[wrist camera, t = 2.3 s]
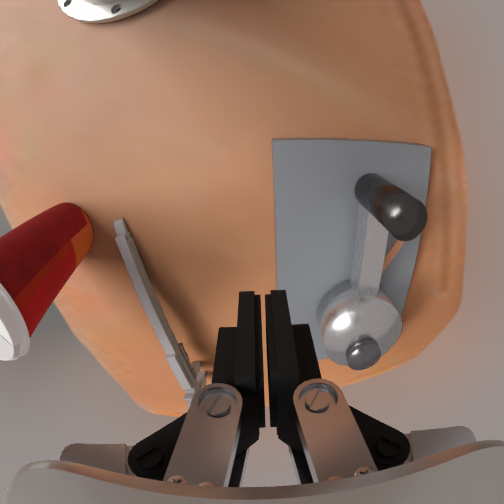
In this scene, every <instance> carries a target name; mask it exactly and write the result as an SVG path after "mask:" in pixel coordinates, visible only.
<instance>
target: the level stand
mask: <svg viewBox="0 0 504 504" xmlns="http://www.w3.org/2000/svg"><path fill="white" fill-rule="evenodd" d="M431 149H432V147H429V146H426V145H423V144H415V143H406V142H395V141H382V140H366V139H342V138H280V139H272V158H273V183H274V212H275V248H276V290H286V295H287V300H288V306H289V312H290V318H291V324H307V323H308V324H309V326H310V330H311V335H312V339H313V343H314V347H315V352H316V356H317V360H319V359H328V358H329V357H328V356H327V354H326V351H325V348H324V344H323V341H322V337H321V333H320V330H319V326H318V323H317V318H316V311H317V307H318V304H319V302H320V300H321V299H322V297H323V296H324V295H325V294H326V293H327V292H328V291H329V290H330V289H331V288H332V287H334V286H335V285H337V284H339V283H341V282H343V281H345V280H348V279H351V273H352V265H353V257H354V248H355V239H356V228H357V217H358V204H359V202H358V201H357V199H356V197H355V193H354V189H355V185H356V182H357V181H358V179H359V178H360V177H361V176H363V175H365V174H367V173H375V174H378V175H379V176H381V177H383V178H384V179H386V180H388V181H389V182H391V183H393V184H394V185H396V186H397V187H399V188H401V189H402V190H404V191H405V192H407V193H409V194H410V195H412V196H413V197H415V198H416V199H418V200H419V201H421V202H422V203H423V205H424V206H425V207H426V200H427V192H428V183H429V174H430V163H431ZM420 237H421V233H420V234H419V235H418V236H417V237H416V238H414V239H412V240H410V241H399V240H397V239H396V238H394V237H393V236H392V234H391V233H390V232H388V239H387V246H386V252H385V258H384V264H383V269H382V275H381V280H380V285H381V286H382V287H383V289H384V290H385V292H386V293H387V295H388V297H389V298H390V300H391V301H392V303H393V305H394V306H395V308H396V310H397V311H398V313H399V315H400V317H401V315H402V312H403V308H404V305H405V301H406V298H407V294H408V290H409V286H410V282H411V278H412V274H413V270H414V266H415V261H416V257H417V252H418V247H419V242H420ZM390 349H391V348H390Z"/></svg>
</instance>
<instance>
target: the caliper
mask: <svg viewBox="0 0 504 504" xmlns="http://www.w3.org/2000/svg"><path fill="white" fill-rule="evenodd" d="M113 223H114V225H113V226H114V229H115V231H116V234H117V237H116V238H115V240H116V243H117V245H118V248H119V251H120V253H121V256H122V258H123V261H124V263H125V266H126V268H127V271H128V273H129V276H130V278H131V281H132V283H133V285H134V288H135V290H136V292H137V294H138V297H139V299H140V301H141V303H142V306H143V308H144V310H145V312H146V314H147V316H148V318H149V321H150V323H151V325H152V327H153V329H154V331H155V333H156V335H157V337H158V339H159V341H160V343H161V345H162V347H163V349H164V351H165V353H166V355H167V356H166V359H167V361H168V363H169V365H170V367H171V369H172V371H173V372H174V374H175V376H176V378H177V380H178V381H179V383H180V385H181V387H182V389H183V390H186V394H185V397H184V399H183V400H184V401H186V400H188V408H189V407H190V404H191V401H192V399H193V397H194V395H195V393H196V392H197V391H199V390H200V389H201V388H203V387H205V386H206V379H207V373H206V371H199V370H200V366H201V362H200V361H197V362H192V363H191V364H190V361H189V358H188V355H187V353H186V352H185V350H184V347H183V344H182V343H178V342H177V340H176V338H175V336H174V334H173V332H172V330H171V328H170V326H169V324H168V321H167V319H166V317H165V315H164V313H163V310H162V308H161V306H160V304H159V301H158V299H157V297H156V294H155V292H154V290H153V287H152V285H151V283H150V280H149V278H148V275H147V273H146V270H145V268H144V265H143V263H142V260H141V257H140V255H139V252H138V249H137V247H136V245H135V243H134V240H133V238H132V236H131V234H130V232H128V230H127V227H126V224H125V221H124V219H123V218H121V219H118V220H116V221H114V222H113Z"/></svg>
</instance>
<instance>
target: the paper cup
mask: <svg viewBox="0 0 504 504" xmlns="http://www.w3.org/2000/svg"><path fill="white" fill-rule="evenodd" d="M93 238H94V233H93V227H92V224H91V222H90V220H89V218H88V216H87V215H86V213H85V212H84V211H83V210H82V209H81V208H79V207H78V206H76V205H74V204H71V203H61V204H58V205H56V206H54V207H52V208H50V209H48V210H46V211H44V212H42V213H40V214H39V215H37V216H35V217H33V218H31V219H30V220H28V221H26V222H25V223H23V224H21V225H20V226H18V227H16V228H15V229H13V230H11V231H10V232H8V233H7V234H5V235H4V236H2V237H0V360H4V361H8V360H16V359H17V358H18V357H19V356H24V355H26V354H27V353H28V350H29V346H30V337H31V335H32V333H33V332H34V330H35V328H36V327H37V325H38V324H39V322H40V320H41V319H42V317H43V315H44V314H45V312H46V311H47V309H48V308H49V306H50V305H51V303H52V302H53V300H54V299H55V297H56V296H57V295H58V293H59V292H60V290H61V289H62V287H63V286H64V284H65V283H66V282H67V280H68V279H69V277H70V276H71V275H72V273H73V272H74V270H75V269H76V268H77V266H78V265H79V264H80V262H81V261H82V260H83V258H84V257H85V255H86V254H87V253H88V251H89V250H90V248H91V246H92V243H93Z"/></svg>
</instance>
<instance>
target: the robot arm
mask: <svg viewBox="0 0 504 504" xmlns="http://www.w3.org/2000/svg"><path fill="white" fill-rule="evenodd" d="M157 1H158V0H58V4H59V6H60V8H61V9H62V11H63V12H64V13H65V14H66V15H68V16H69V17H71V18H73V19H75V20H78V21H81V22H85V23H94V24H100V23H108V22H113V21H116V20H120V19H124V18H126V17H129V16H131V15H133V14H136V13H138V12H140V11H142V10H144V9H146V8H147V7H149V6H151V5H153V4H154V3H156V2H157ZM119 10H120V11H119ZM118 11H119V12H118ZM265 310H266V343H267V366H268V386H269V406H270V426H271V427H277V435H278V438H279V439H280V440H282V441H283V442H284V443H286V444H287V445H288V448H289V452H290V456H291V460H292V463H293V467H294V470H295V474H296V478H297V481H298V485H290V486H276V487H242V484H243V479H244V473H245V469H246V464H247V459H248V454H249V447H250V446H251V445H252V444H254V443H255V442H256V441H257V440H258V439H259V428H261V427H265V402H264V374H263V348H262V323H261V300H260V295H255V294H254V291H245V292H239V305H238V320H237V327H220V328H219V332H218V339H217V346H216V354H215V362H214V369H213V377H212V384H210V385H207V386H205V387H203V388H201V389H200V390H199V391H197V392H196V393H195V395H194V397H193V399H192V401H191V404H190V407H189V410H188V412H187V413H185V414H184V415H182V416H181V417H179V418H178V419H176V420H175V421H173V422H171V423H170V424H168V425H167V426H165V427H163V428H162V429H160V430H158V431H157V432H155V433H153V434H152V435H150V436H149V437H147V438H145V439H143V440H142V441H140V442H138V443H137V444H136V445H134V446H126V444H82V443H75V444H70V445H69V446H66V447H65V448H64V450H63V451H62V453H61V456H60V461H57V460H55V461H54V460H45V461H37V462H32V463H28V464H26V465H24V466H23V467H21V468H20V469H19V470H18V471H17V473H16V474H15V476H14V477H13V479H12V481H11V483H10V485H9V486H8V489H7V491H6V494H5V496H4V499H3V502H2V504H504V441H502V440H484V441H477V442H476V439H475V436H474V434H473V432H472V431H471V430H470V429H469V428H466V427H464V426H456V427H448V428H440V429H430V430H419V431H411V432H410V433H409V434H403V433H401V432H400V431H398V430H396V429H394V428H392V427H390V426H388V425H386V424H384V423H382V422H380V421H378V420H376V419H374V418H372V417H370V416H368V415H366V414H364V413H362V412H360V411H359V410H357V409H355V408H353V407H351V406H349V405H348V403H347V401H346V399H345V397H344V395H343V392H342V391H341V389H340V388H339V386H337V385H336V384H335V383H333V382H331V381H329V380H326V379H321V374H320V369H319V365H318V361H317V356H316V352H315V347H314V343H313V339H312V335H311V330H310V326H309V324H308V323H307V324H291V318H290V312H289V306H288V300H287V295H286V290H271V294H267V295H265Z"/></svg>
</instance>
